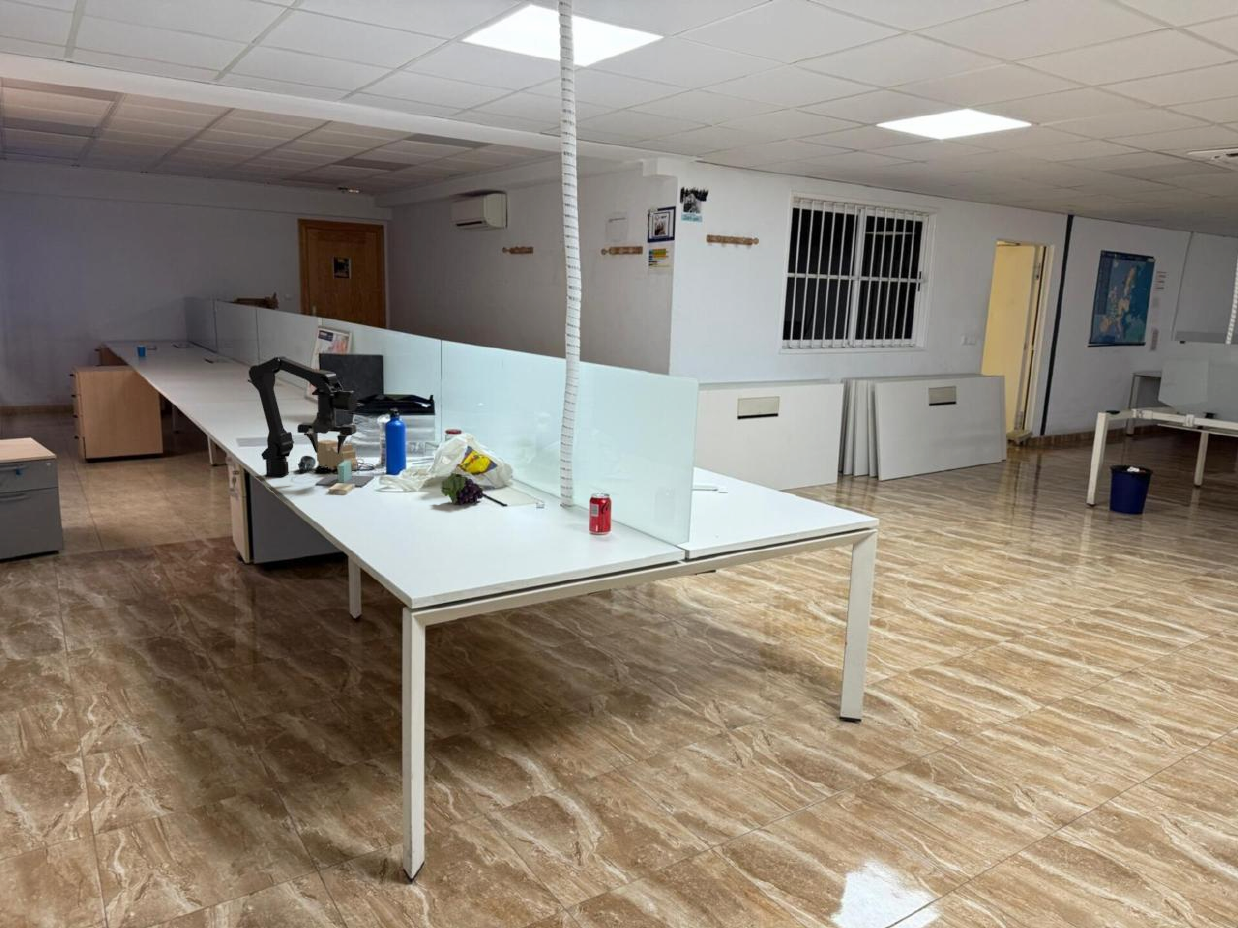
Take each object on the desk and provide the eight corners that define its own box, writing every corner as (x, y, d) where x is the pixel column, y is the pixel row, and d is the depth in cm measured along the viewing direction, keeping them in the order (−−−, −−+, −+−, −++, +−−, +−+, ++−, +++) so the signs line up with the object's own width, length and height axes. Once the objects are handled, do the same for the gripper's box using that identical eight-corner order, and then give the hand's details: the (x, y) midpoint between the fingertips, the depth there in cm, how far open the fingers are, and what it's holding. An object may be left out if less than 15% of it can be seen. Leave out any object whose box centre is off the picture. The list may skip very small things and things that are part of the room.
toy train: (346, 474, 315) (345, 447, 313) (315, 467, 324) (314, 440, 322) (358, 471, 320) (357, 445, 318) (327, 464, 329) (326, 438, 326)
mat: (315, 485, 297) (315, 483, 297) (329, 476, 311) (329, 474, 311) (362, 487, 297) (362, 485, 297) (373, 477, 311) (373, 476, 311)
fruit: (484, 511, 285) (445, 506, 275) (468, 499, 292) (429, 494, 282) (493, 483, 283) (455, 477, 273) (478, 471, 291) (439, 465, 280)
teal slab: (338, 482, 300) (337, 465, 299) (345, 477, 308) (345, 460, 307) (344, 482, 300) (343, 465, 299) (351, 477, 308) (350, 460, 307)
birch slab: (328, 494, 288) (328, 488, 287) (337, 488, 296) (337, 483, 295) (346, 495, 288) (346, 489, 287) (354, 489, 295) (354, 484, 295)
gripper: (290, 411, 291) (292, 456, 294) (346, 413, 291) (347, 459, 294) (302, 406, 302) (304, 450, 305) (356, 408, 302) (357, 452, 305)
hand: (327, 453), depth 302 cm, fingers open, 7 cm apart
